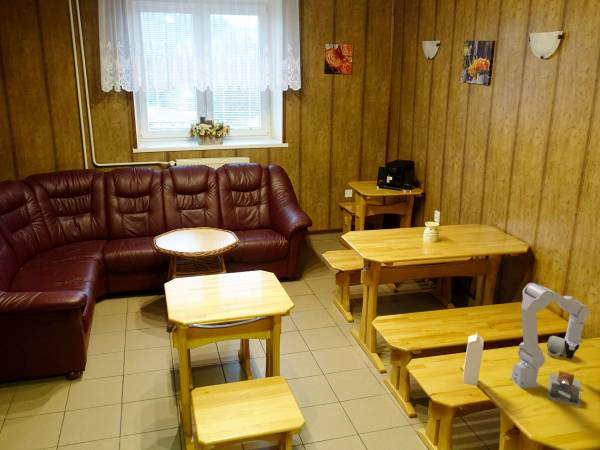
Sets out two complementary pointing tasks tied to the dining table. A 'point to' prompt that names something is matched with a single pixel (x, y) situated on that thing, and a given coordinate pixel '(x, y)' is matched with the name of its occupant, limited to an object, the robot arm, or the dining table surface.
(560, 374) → the pin
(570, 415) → the dining table surface
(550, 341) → the ceramic mug
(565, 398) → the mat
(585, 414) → the dining table surface
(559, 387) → the hitch block
